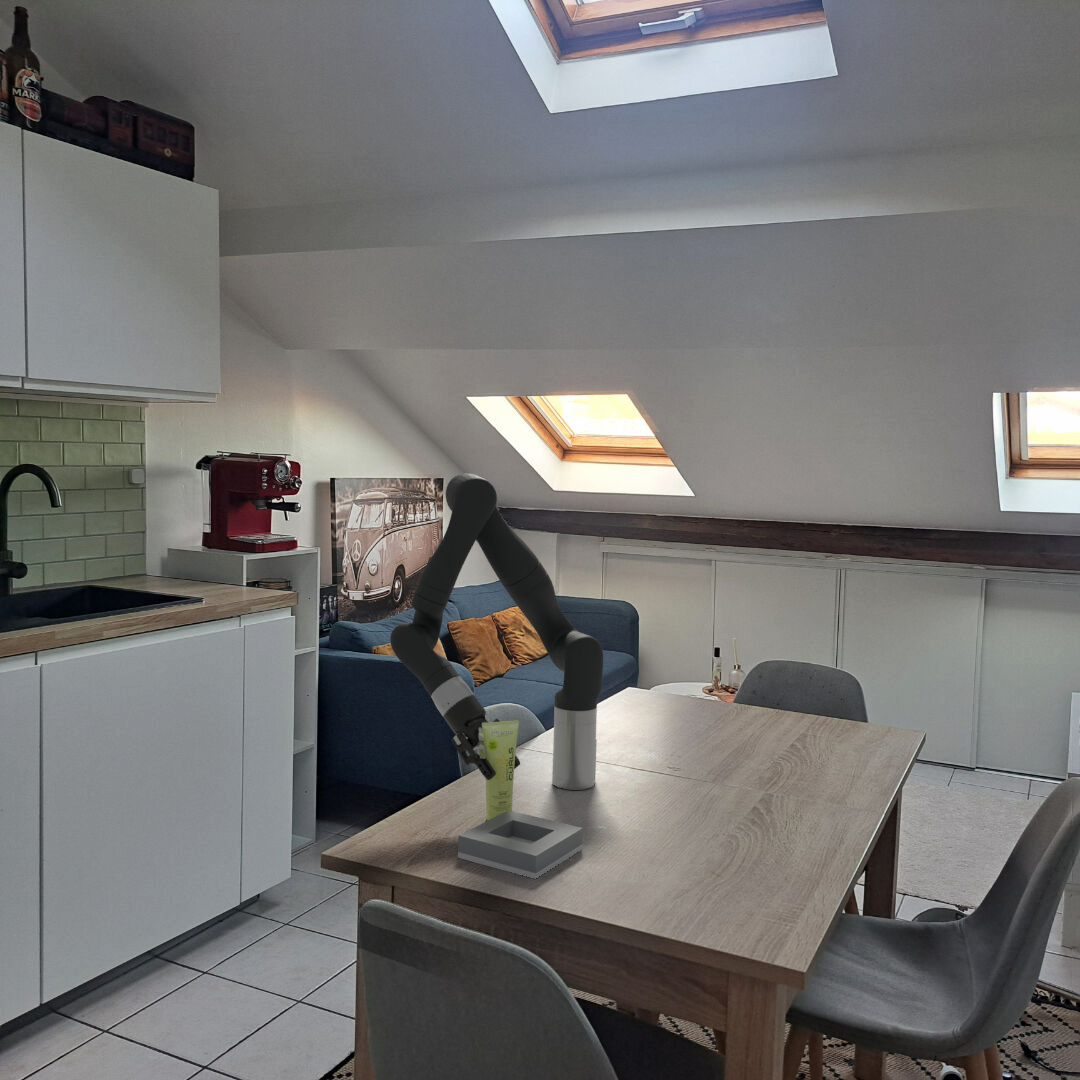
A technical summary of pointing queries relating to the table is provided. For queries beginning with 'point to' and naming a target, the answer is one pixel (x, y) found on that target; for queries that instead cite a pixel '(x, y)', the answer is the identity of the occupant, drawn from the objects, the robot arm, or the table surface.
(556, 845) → the holder
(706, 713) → the table surface
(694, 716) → the table surface
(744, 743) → the table surface
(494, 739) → the tube
